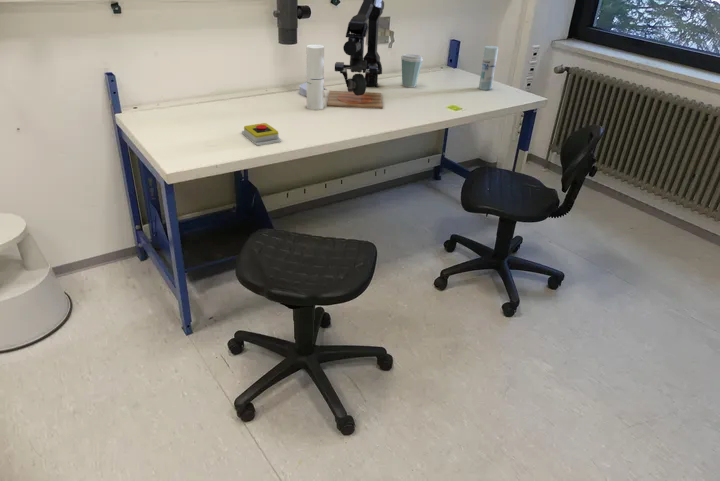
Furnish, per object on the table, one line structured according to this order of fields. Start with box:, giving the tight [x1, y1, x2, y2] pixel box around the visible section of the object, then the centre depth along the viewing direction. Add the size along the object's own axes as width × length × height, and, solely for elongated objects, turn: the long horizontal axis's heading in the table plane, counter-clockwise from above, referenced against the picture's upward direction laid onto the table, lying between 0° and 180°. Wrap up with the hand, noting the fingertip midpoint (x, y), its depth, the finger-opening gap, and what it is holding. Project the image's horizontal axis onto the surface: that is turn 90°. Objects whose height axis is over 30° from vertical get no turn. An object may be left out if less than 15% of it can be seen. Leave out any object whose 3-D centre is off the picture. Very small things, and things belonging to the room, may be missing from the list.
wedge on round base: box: [299, 80, 328, 97], centre depth 244 cm, size 9×7×13 cm
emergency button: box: [241, 122, 282, 147], centre depth 194 cm, size 9×4×15 cm
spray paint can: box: [478, 45, 499, 91], centre depth 263 cm, size 6×6×20 cm
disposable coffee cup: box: [400, 53, 424, 88], centre depth 262 cm, size 11×11×15 cm
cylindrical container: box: [305, 43, 325, 111], centre depth 223 cm, size 7×7×25 cm
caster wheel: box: [346, 73, 367, 96], centre depth 237 cm, size 6×10×15 cm
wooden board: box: [326, 90, 384, 110], centre depth 240 cm, size 22×24×1 cm
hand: (355, 87), depth 238 cm, fingers closed on caster wheel, 7 cm apart
